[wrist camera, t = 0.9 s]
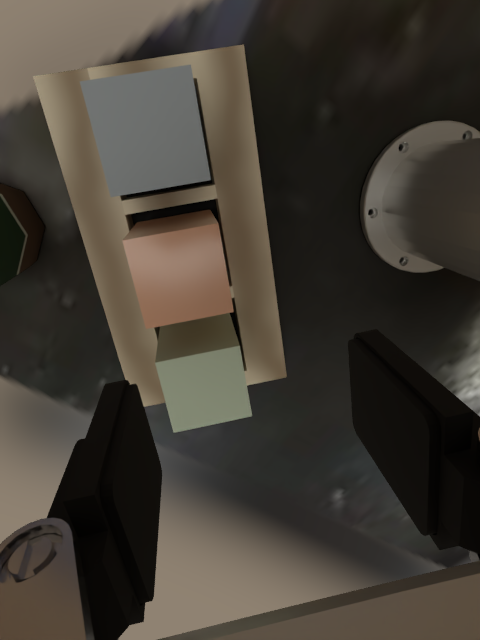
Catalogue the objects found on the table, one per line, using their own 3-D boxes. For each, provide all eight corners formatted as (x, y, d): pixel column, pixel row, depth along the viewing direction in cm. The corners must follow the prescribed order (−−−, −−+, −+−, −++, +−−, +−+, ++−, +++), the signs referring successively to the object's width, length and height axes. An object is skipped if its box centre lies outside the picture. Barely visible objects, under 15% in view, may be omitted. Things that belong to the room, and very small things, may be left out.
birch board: (238, 55, 30) (243, 44, 27) (279, 362, 39) (286, 377, 37) (47, 85, 29) (33, 76, 26) (137, 391, 39) (134, 408, 36)
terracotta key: (209, 209, 31) (218, 223, 23) (222, 279, 33) (233, 311, 25) (137, 222, 30) (122, 240, 23) (154, 291, 32) (146, 329, 25)
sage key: (227, 306, 34) (239, 345, 26) (237, 364, 36) (252, 416, 28) (161, 318, 33) (154, 362, 26) (175, 377, 35) (173, 432, 28)
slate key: (188, 91, 28) (190, 64, 20) (203, 176, 30) (211, 180, 22) (107, 104, 27) (79, 81, 20) (128, 189, 29) (110, 197, 22)
